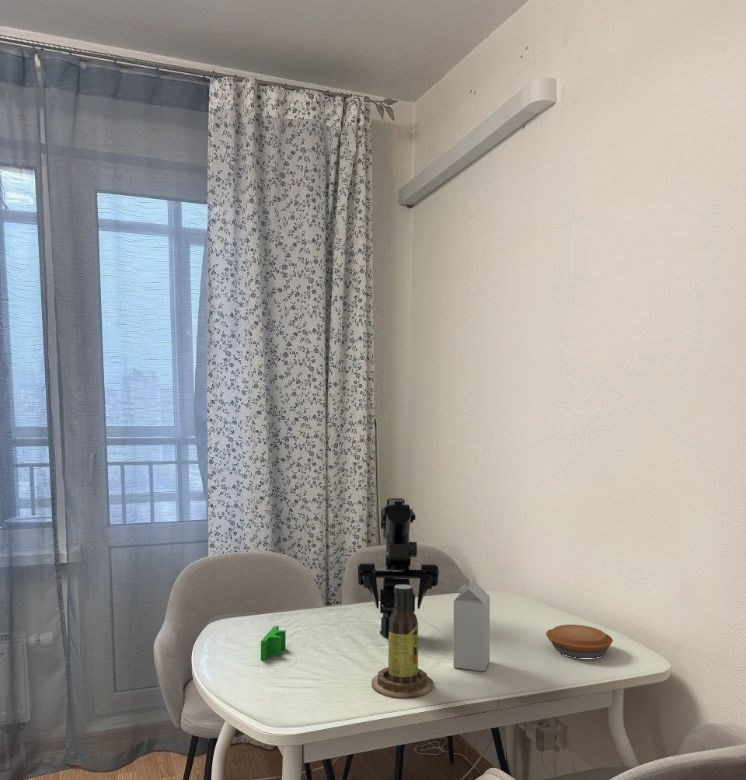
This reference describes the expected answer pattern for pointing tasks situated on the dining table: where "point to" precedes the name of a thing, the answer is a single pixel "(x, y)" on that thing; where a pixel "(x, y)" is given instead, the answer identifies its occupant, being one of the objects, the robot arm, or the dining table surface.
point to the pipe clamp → (273, 642)
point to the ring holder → (402, 685)
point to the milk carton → (472, 628)
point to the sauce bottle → (403, 638)
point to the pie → (579, 641)
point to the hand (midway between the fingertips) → (398, 607)
